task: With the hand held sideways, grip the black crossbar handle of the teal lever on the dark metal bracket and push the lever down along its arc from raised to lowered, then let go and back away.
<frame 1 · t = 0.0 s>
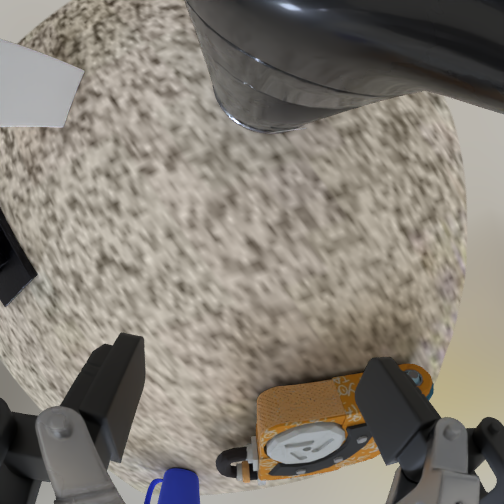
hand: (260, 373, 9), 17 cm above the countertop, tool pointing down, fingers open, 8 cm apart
milk: (54, 94, 19), on the countertop
mug: (174, 472, 42), on the countertop
device: (313, 418, 36), on the countertop
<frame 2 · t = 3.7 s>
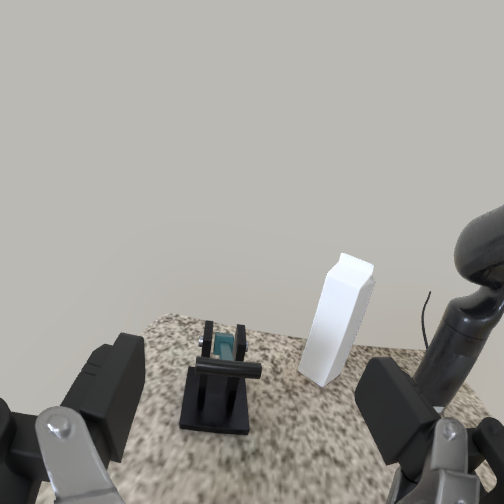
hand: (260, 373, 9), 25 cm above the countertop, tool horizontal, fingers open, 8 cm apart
lever: (225, 353, 28), point 13 cm above the countertop, hinge at 25.0°
milk: (318, 373, 46), on the countertop
bracket: (214, 401, 36), on the countertop
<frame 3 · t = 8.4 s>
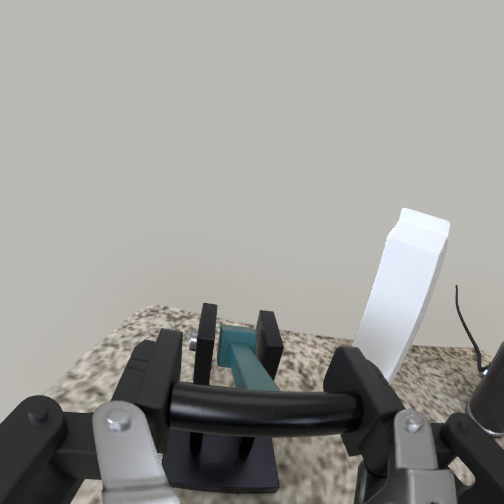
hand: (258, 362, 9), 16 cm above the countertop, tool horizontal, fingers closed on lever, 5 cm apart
lever: (244, 365, 13), point 13 cm above the countertop, hinge at 25.0°, touching gripper
milk: (364, 385, 31), on the countertop
bracket: (218, 438, 21), on the countertop
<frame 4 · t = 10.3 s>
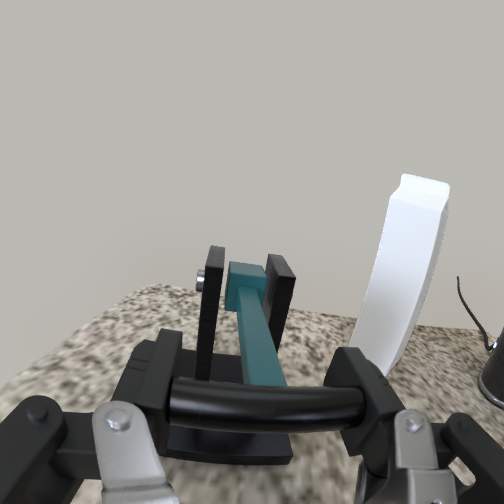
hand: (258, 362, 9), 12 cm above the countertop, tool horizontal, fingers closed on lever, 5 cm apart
lever: (251, 322, 13), point 11 cm above the countertop, hinge at 3.8°, touching gripper
milk: (373, 358, 31), on the countertop
bracket: (223, 406, 20), on the countertop
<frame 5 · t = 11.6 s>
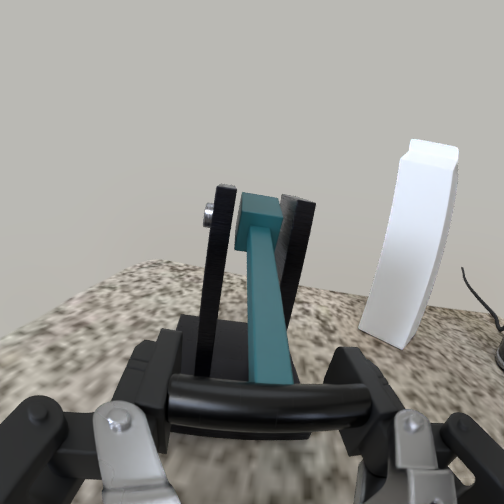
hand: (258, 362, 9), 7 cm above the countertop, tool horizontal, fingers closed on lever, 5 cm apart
lever: (262, 278, 12), point 9 cm above the countertop, hinge at -17.1°, touching gripper
milk: (387, 333, 29), on the countertop
bracket: (230, 375, 19), on the countertop
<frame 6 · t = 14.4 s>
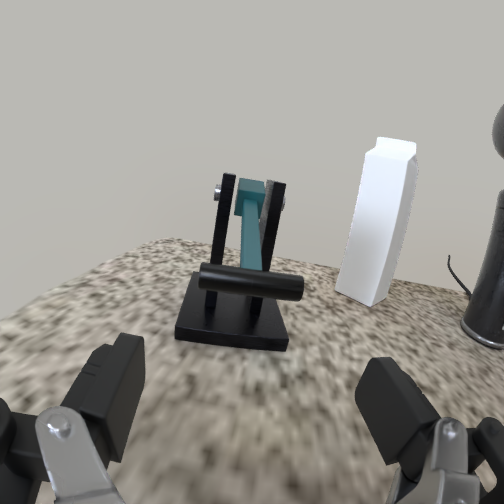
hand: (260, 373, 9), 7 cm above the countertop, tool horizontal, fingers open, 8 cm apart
lever: (250, 227, 20), point 9 cm above the countertop, hinge at -18.3°
milk: (360, 295, 37), on the countertop
bracket: (230, 311, 27), on the countertop
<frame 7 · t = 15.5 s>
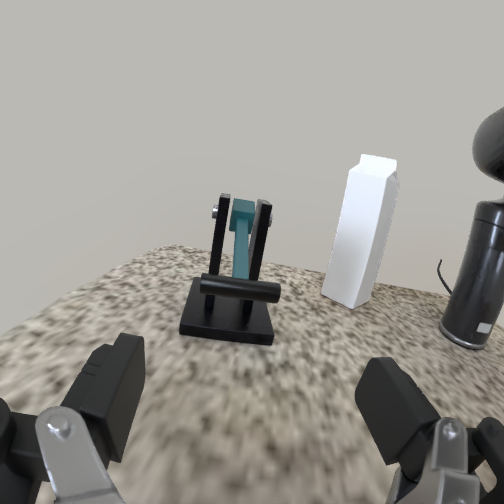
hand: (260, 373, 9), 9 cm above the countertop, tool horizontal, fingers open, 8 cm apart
lever: (241, 243, 24), point 9 cm above the countertop, hinge at -18.3°
milk: (344, 299, 42), on the countertop
bracket: (226, 311, 31), on the countertop
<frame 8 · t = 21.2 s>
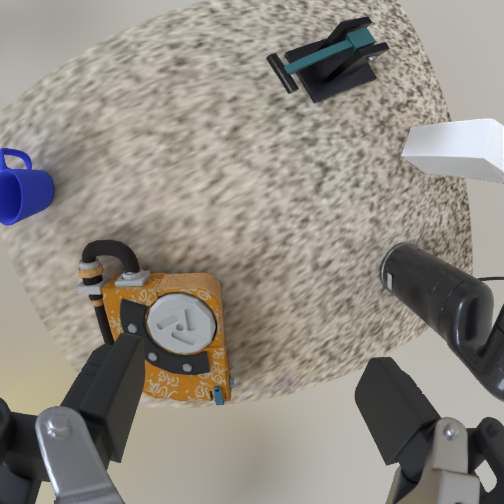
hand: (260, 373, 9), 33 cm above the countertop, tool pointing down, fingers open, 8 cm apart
lever: (324, 53, 26), point 9 cm above the countertop, hinge at -18.3°
milk: (417, 150, 39), on the countertop
bracket: (331, 66, 35), on the countertop
mug: (40, 179, 36), on the countertop
device: (162, 318, 45), on the countertop
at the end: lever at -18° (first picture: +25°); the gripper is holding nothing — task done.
